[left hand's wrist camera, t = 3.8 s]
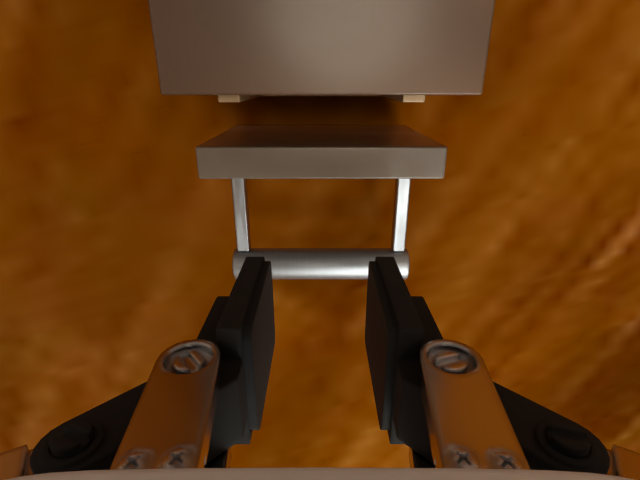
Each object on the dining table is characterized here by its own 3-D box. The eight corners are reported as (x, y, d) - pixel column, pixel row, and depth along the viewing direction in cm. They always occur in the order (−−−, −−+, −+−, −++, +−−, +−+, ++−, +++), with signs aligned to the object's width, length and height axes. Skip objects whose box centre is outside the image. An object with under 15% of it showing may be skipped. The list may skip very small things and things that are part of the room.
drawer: (396, 244, 24) (428, 313, 17) (245, 244, 24) (213, 313, 17) (441, -352, 15) (552, -746, 8) (200, -352, 15) (91, -746, 8)
